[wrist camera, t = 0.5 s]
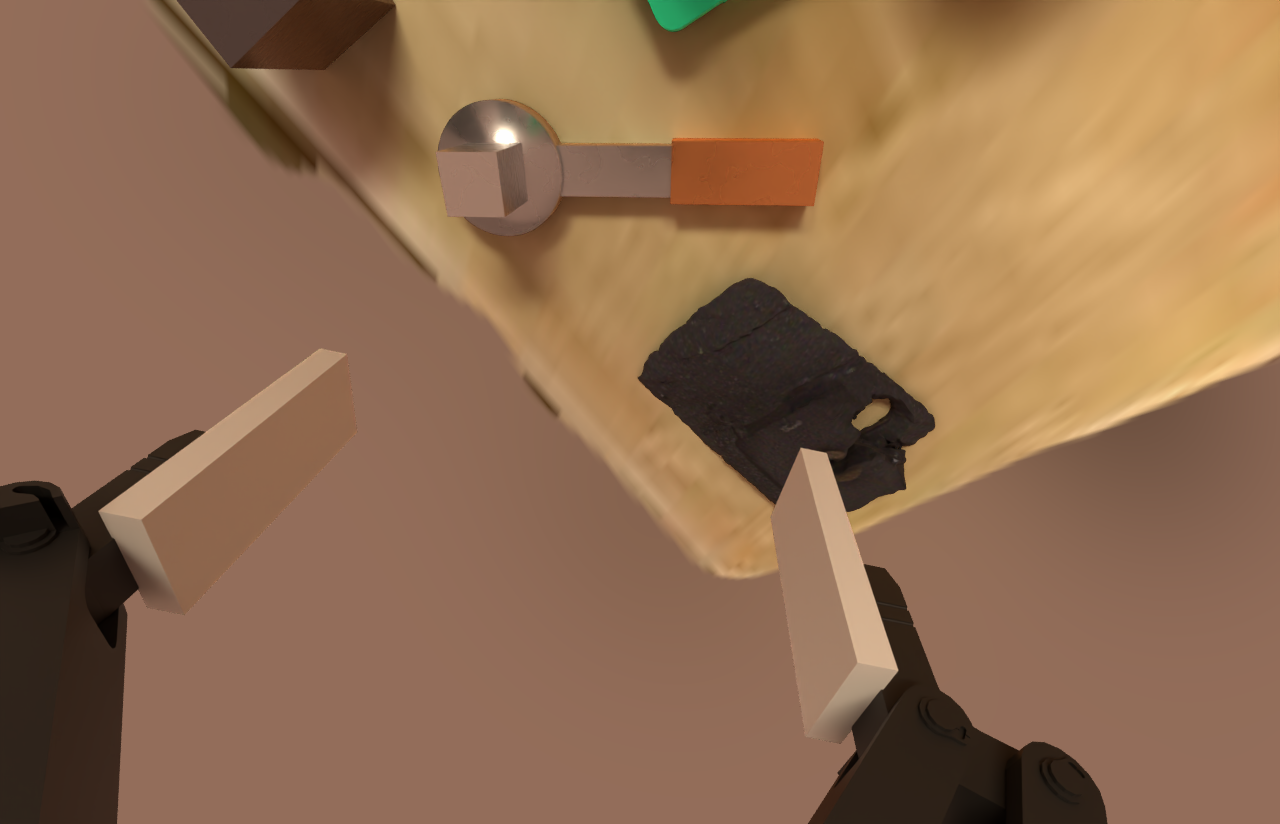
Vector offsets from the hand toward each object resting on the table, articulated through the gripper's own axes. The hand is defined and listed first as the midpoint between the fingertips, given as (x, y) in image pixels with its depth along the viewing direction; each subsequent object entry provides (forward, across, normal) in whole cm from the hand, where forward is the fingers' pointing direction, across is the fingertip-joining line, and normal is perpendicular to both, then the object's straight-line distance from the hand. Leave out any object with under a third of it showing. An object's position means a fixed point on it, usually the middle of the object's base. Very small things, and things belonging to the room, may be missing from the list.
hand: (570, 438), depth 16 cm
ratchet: (+26, -2, +3) cm, 26 cm away
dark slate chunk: (+26, +14, -11) cm, 32 cm away
